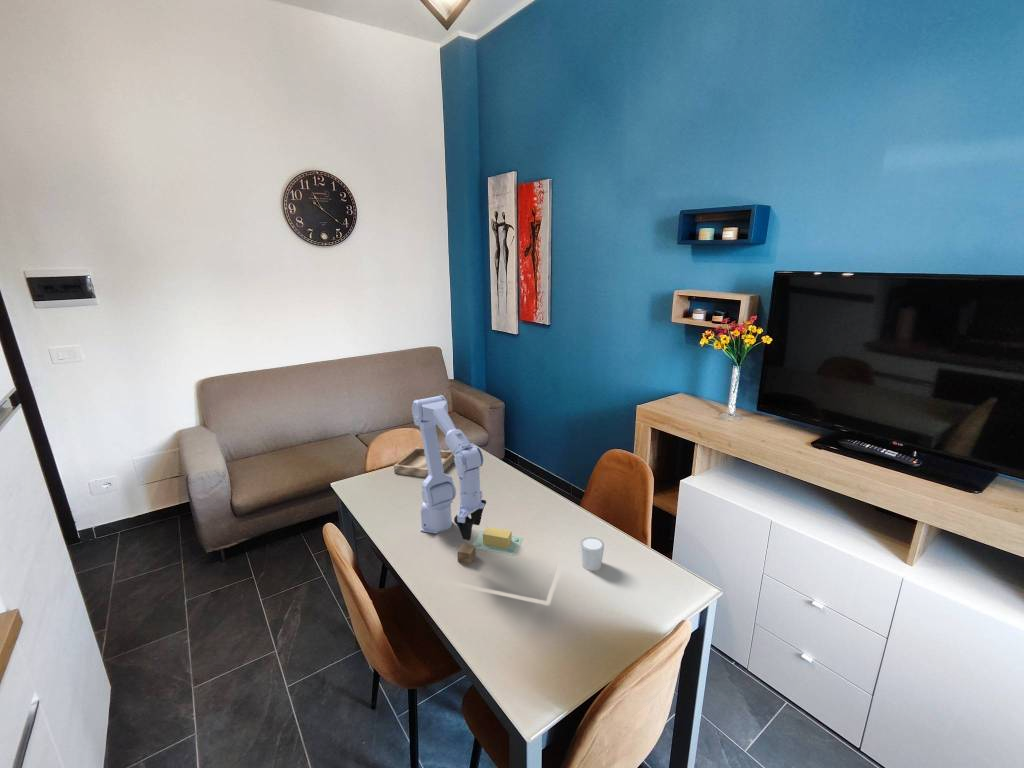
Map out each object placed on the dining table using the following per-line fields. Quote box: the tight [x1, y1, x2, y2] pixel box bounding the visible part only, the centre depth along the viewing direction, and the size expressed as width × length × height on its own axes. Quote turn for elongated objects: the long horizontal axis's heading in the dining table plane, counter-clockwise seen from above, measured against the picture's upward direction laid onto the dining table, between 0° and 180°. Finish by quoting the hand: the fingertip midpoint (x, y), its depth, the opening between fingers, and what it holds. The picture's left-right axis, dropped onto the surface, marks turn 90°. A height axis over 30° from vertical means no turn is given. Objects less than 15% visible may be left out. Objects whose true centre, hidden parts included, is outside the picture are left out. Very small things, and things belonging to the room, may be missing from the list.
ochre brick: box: [483, 526, 513, 549], centre depth 145 cm, size 8×4×4 cm, turn 73°
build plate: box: [472, 530, 524, 556], centre depth 145 cm, size 14×9×1 cm, turn 73°
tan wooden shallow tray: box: [393, 447, 455, 479], centre depth 199 cm, size 19×19×4 cm
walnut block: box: [456, 543, 477, 565], centre depth 138 cm, size 4×4×4 cm
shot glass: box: [579, 536, 605, 572], centre depth 135 cm, size 7×7×7 cm
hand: (471, 531), depth 136 cm, fingers open, 7 cm apart
